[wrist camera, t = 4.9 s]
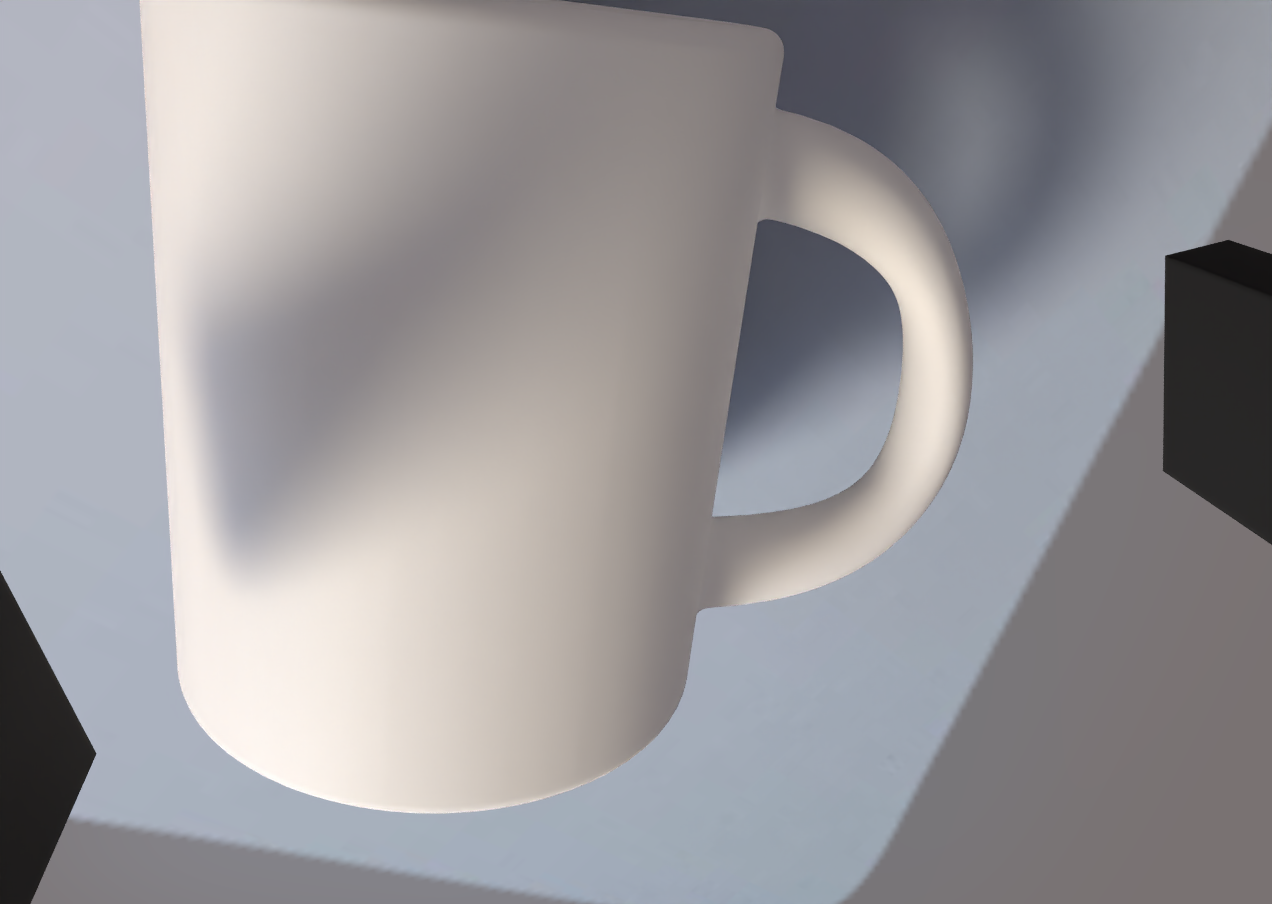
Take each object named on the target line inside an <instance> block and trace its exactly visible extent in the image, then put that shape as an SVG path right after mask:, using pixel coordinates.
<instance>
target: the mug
mask: <svg viewBox="0 0 1272 904" xmlns="http://www.w3.org/2000/svg"><path fill="white" fill-rule="evenodd" d="M140 16H141V34H142V52H143V69H144V87H145V104H146V122H147V139H148V157H149V175H150V192H151V210H152V227H153V245H154V262H155V280H156V298H157V315H158V333H159V350H160V368H161V385H162V403H163V421H164V438H165V456H166V473H167V491H168V508H169V526H170V544H171V561H172V579H173V596H174V614H175V631H176V649H177V666H178V676H179V681H180V685H181V689H182V693H183V695H184V698H185V700H186V702H187V704H188V706H189V709H190V711H191V712H192V714H193V715H194V717H195V718H196V720H197V721H198V723H199V724H200V726H201V727H202V728H203V729H204V730H205V731H206V733H207V734H208V735H209V736H210V737H211V738H212V739H213V740H214V741H215V742H216V743H217V744H218V745H219V746H220V747H222V748H223V749H224V750H225V751H226V752H227V753H229V754H230V755H231V756H233V757H234V758H236V759H237V760H238V761H240V762H241V763H243V764H244V765H245V766H247V767H249V768H251V769H252V770H254V771H256V772H258V773H259V774H261V775H263V776H265V777H267V778H269V779H271V780H273V781H276V782H278V783H280V784H282V785H284V786H287V787H289V788H292V789H295V790H298V791H300V792H303V793H306V794H309V795H312V796H316V797H319V798H323V799H326V800H330V801H333V802H337V803H342V804H347V805H352V806H357V807H362V808H369V809H376V810H384V811H394V812H407V813H459V812H474V811H482V810H491V809H498V808H504V807H509V806H515V805H521V804H525V803H529V802H533V801H537V800H541V799H545V798H548V797H551V796H554V795H557V794H560V793H563V792H566V791H570V790H572V789H575V788H577V787H579V786H582V785H584V784H587V783H589V782H592V781H594V780H595V779H597V778H599V777H601V776H603V775H605V774H607V773H609V772H611V771H613V770H614V769H616V768H617V767H619V766H621V765H622V764H624V763H625V762H627V761H628V760H630V759H631V758H632V757H634V756H635V755H636V754H637V753H639V752H640V751H641V750H643V749H644V748H645V747H646V746H647V745H648V744H649V743H650V742H651V741H652V740H653V739H654V738H655V737H656V736H657V735H658V734H659V733H660V732H661V730H662V729H663V728H664V727H665V725H666V724H667V723H668V722H669V720H670V718H671V717H672V715H673V713H674V712H675V710H676V708H677V706H678V704H679V702H680V699H681V697H682V695H683V692H684V688H685V684H686V680H687V674H688V667H689V660H690V653H691V647H692V640H693V633H694V627H695V621H696V615H697V613H698V612H699V611H701V610H702V609H705V608H711V607H724V606H736V605H743V604H750V603H757V602H763V601H770V600H775V599H780V598H784V597H788V596H792V595H796V594H800V593H803V592H806V591H810V590H813V589H816V588H819V587H821V586H824V585H827V584H829V583H831V582H834V581H836V580H838V579H841V578H843V577H845V576H847V575H849V574H851V573H853V572H854V571H856V570H858V569H860V568H861V567H863V566H865V565H866V564H868V563H870V562H871V561H873V560H874V559H875V558H877V557H878V556H880V555H881V554H882V553H884V552H885V551H886V550H887V549H889V548H890V547H891V546H892V545H893V544H895V543H896V542H897V541H898V540H899V539H900V538H901V537H902V536H903V535H904V534H905V533H906V532H907V531H908V530H909V529H910V528H911V527H912V526H913V525H914V524H915V523H916V522H917V520H918V519H919V518H920V517H921V516H922V514H923V513H924V512H925V511H926V509H927V508H928V506H929V505H930V504H931V502H932V501H933V499H934V498H935V496H936V495H937V493H938V492H939V490H940V488H941V487H942V485H943V483H944V481H945V479H946V478H947V476H948V474H949V472H950V470H951V468H952V465H953V463H954V461H955V458H956V456H957V453H958V450H959V447H960V444H961V441H962V438H963V435H964V431H965V426H966V422H967V418H968V412H969V406H970V399H971V390H972V373H973V348H972V334H971V324H970V317H969V310H968V304H967V299H966V294H965V290H964V285H963V281H962V278H961V274H960V270H959V267H958V264H957V261H956V258H955V255H954V252H953V250H952V247H951V244H950V242H949V240H948V237H947V235H946V233H945V231H944V229H943V227H942V225H941V223H940V221H939V219H938V217H937V216H936V214H935V212H934V210H933V209H932V207H931V206H930V204H929V202H928V201H927V200H926V198H925V197H924V196H923V194H922V193H921V191H920V190H919V189H918V188H917V186H916V185H915V184H914V183H913V182H912V181H911V179H910V178H909V177H908V176H907V175H906V174H905V173H904V172H903V171H902V170H901V169H900V168H899V167H897V166H896V165H895V164H894V163H893V162H892V161H891V160H889V159H888V158H887V157H886V156H884V155H883V154H882V153H880V152H879V151H878V150H876V149H875V148H873V147H872V146H870V145H869V144H867V143H865V142H864V141H862V140H860V139H858V138H856V137H854V136H852V135H850V134H848V133H846V132H844V131H842V130H840V129H838V128H836V127H834V126H831V125H828V124H825V123H823V122H820V121H817V120H814V119H811V118H808V117H805V116H803V115H799V114H795V113H791V112H787V111H783V110H780V109H778V108H776V101H777V95H778V89H779V83H780V76H781V70H782V64H783V58H784V47H783V43H782V41H781V39H780V38H779V36H778V35H777V34H776V33H775V32H773V31H772V30H769V29H767V28H762V27H757V26H750V25H744V24H737V23H730V22H723V21H716V20H708V19H701V18H693V17H686V16H678V15H671V14H663V13H655V12H648V11H640V10H632V9H624V8H616V7H608V6H601V5H593V4H585V3H577V2H569V1H561V0H140ZM765 219H771V220H776V221H779V222H783V223H787V224H790V225H794V226H798V227H801V228H803V229H806V230H809V231H812V232H814V233H817V234H820V235H822V236H824V237H826V238H829V239H831V240H833V241H835V242H837V243H839V244H841V245H843V246H845V247H847V248H848V249H850V250H851V251H853V252H855V253H856V254H858V255H859V256H860V257H862V258H863V259H864V260H866V261H867V262H868V263H869V264H871V265H872V266H873V267H874V268H875V269H876V270H877V271H878V272H879V273H880V274H881V275H882V276H883V277H884V279H885V280H886V281H887V283H888V284H889V285H890V287H891V289H892V290H893V292H894V294H895V297H896V299H897V302H898V305H899V309H900V313H901V320H902V330H903V358H902V371H901V380H900V387H899V393H898V399H897V404H896V408H895V413H894V417H893V421H892V424H891V427H890V430H889V433H888V436H887V439H886V441H885V443H884V445H883V448H882V450H881V452H880V453H879V455H878V457H877V459H876V460H875V462H874V463H873V465H872V466H871V467H870V469H869V470H868V471H867V472H866V473H865V474H864V475H863V476H862V477H861V478H860V479H859V480H858V481H857V482H856V483H854V484H853V485H852V486H850V487H849V488H847V489H846V490H844V491H842V492H840V493H839V494H836V495H834V496H832V497H830V498H827V499H825V500H822V501H819V502H816V503H813V504H810V505H806V506H801V507H797V508H793V509H788V510H782V511H776V512H770V513H760V514H751V515H737V516H718V517H712V512H713V505H714V499H715V492H716V486H717V479H718V473H719V467H720V460H721V454H722V447H723V441H724V435H725V428H726V422H727V415H728V409H729V402H730V396H731V390H732V383H733V377H734V370H735V364H736V357H737V351H738V345H739V338H740V332H741V325H742V319H743V313H744V306H745V300H746V293H747V287H748V280H749V274H750V268H751V261H752V255H753V248H754V242H755V235H756V229H757V223H758V222H759V221H761V220H765Z"/></svg>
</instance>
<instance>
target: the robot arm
mask: <svg viewBox="0 0 1272 904" xmlns="http://www.w3.org/2000/svg"><path fill="white" fill-rule="evenodd" d="M1163 445H1164V447H1163V471H1164V472H1165V473H1167V474H1169V475H1170V476H1171V477H1173V478H1174V479H1176V480H1177V481H1179V482H1180V483H1182V484H1183V485H1185V486H1186V487H1187V488H1189V489H1190V490H1192V491H1194V492H1195V493H1196V494H1198V495H1199V496H1201V497H1202V498H1204V499H1205V500H1207V501H1208V502H1210V503H1211V504H1213V505H1214V506H1215V507H1217V508H1218V509H1220V510H1222V511H1223V512H1224V513H1226V514H1228V515H1229V516H1230V517H1232V518H1233V519H1235V520H1236V521H1238V522H1239V523H1241V524H1242V525H1244V526H1245V527H1246V528H1248V529H1249V530H1251V531H1253V532H1254V533H1255V534H1257V535H1258V536H1260V537H1261V538H1263V539H1264V540H1266V541H1267V542H1269V543H1270V544H1272V254H1270V253H1266V252H1263V251H1260V250H1257V249H1254V248H1251V247H1248V246H1245V245H1242V244H1239V243H1236V242H1233V241H1230V240H1226V241H1223V242H1218V243H1214V244H1210V245H1206V246H1202V247H1198V248H1195V249H1191V250H1187V251H1183V252H1179V253H1175V254H1171V255H1167V256H1165V340H1164V438H1163ZM95 756H96V752H95V750H94V748H93V746H92V744H91V742H90V741H89V739H88V737H87V735H86V733H85V731H84V729H83V727H82V725H81V723H80V722H79V720H78V718H77V716H76V714H75V712H74V710H73V708H72V706H71V704H70V703H69V701H68V699H67V697H66V695H65V693H64V691H63V689H62V687H61V685H60V683H59V682H58V680H57V678H56V676H55V674H54V672H53V670H52V668H51V666H50V664H49V663H48V661H47V659H46V657H45V655H44V653H43V651H42V649H41V647H40V645H39V644H38V642H37V640H36V638H35V636H34V634H33V632H32V630H31V628H30V626H29V624H28V623H27V621H26V619H25V617H24V615H23V613H22V611H21V609H20V607H19V605H18V604H17V602H16V600H15V598H14V596H13V594H12V592H11V590H10V588H9V586H8V584H7V583H6V581H5V579H4V577H3V575H2V573H1V571H0V904H30V903H31V901H32V899H33V897H34V895H35V892H36V890H37V888H38V885H39V883H40V881H41V878H42V876H43V874H44V871H45V869H46V867H47V865H48V863H49V860H50V858H51V856H52V853H53V851H54V849H55V846H56V844H57V842H58V840H59V837H60V835H61V833H62V831H63V829H64V826H65V824H66V822H67V819H68V817H69V815H70V813H71V810H72V808H73V806H74V804H75V801H76V799H77V797H78V794H79V792H80V790H81V788H82V785H83V783H84V781H85V779H86V776H87V774H88V772H89V769H90V767H91V765H92V763H93V760H94V758H95Z"/></svg>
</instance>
